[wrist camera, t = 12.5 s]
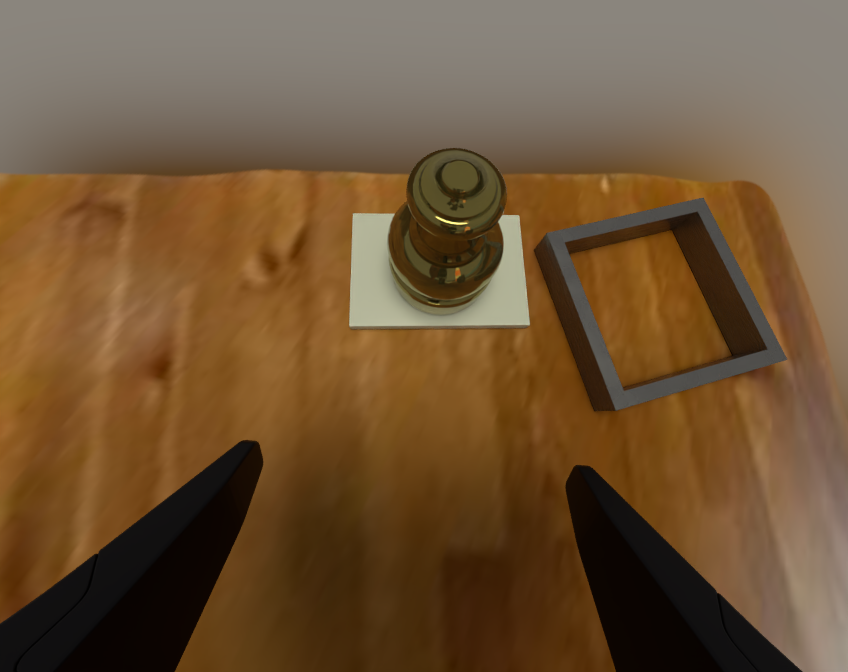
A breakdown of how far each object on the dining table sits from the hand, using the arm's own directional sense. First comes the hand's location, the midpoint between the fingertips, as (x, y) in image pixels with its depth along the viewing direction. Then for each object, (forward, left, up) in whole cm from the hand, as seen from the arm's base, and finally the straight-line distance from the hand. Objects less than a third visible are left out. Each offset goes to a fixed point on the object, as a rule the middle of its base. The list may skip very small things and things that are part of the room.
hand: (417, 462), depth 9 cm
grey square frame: (+5, -20, -14) cm, 24 cm away
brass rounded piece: (+11, -5, -13) cm, 18 cm away
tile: (+11, -5, -14) cm, 18 cm away
